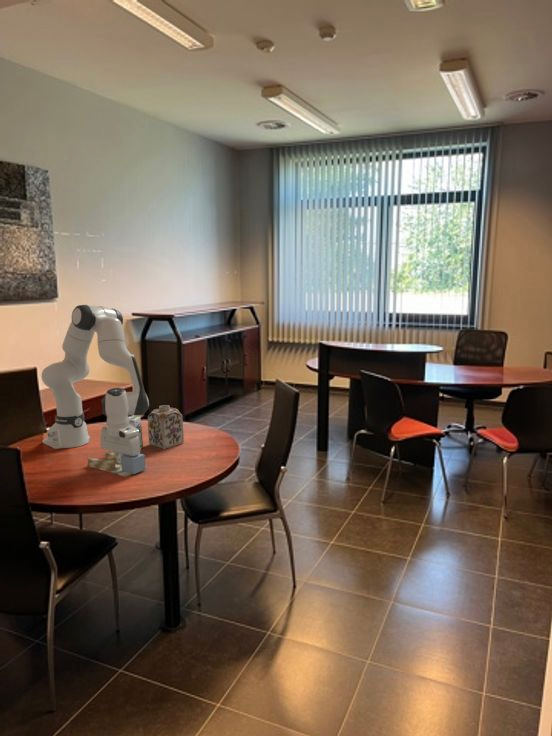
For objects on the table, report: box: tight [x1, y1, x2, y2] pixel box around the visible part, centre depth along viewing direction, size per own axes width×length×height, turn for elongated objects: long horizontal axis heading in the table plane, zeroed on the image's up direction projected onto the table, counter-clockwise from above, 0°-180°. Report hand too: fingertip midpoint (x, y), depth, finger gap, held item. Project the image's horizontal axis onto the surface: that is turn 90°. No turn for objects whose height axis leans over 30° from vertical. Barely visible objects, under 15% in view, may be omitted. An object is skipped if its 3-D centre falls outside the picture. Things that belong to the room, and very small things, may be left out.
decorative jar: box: [147, 404, 185, 450], centre depth 243 cm, size 12×12×18 cm
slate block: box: [121, 452, 147, 475], centre depth 210 cm, size 7×6×6 cm
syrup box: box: [128, 415, 144, 450], centre depth 237 cm, size 6×6×14 cm
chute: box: [87, 450, 148, 477], centre depth 216 cm, size 23×11×3 cm, turn 56°
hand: (120, 462), depth 214 cm, fingers closed
